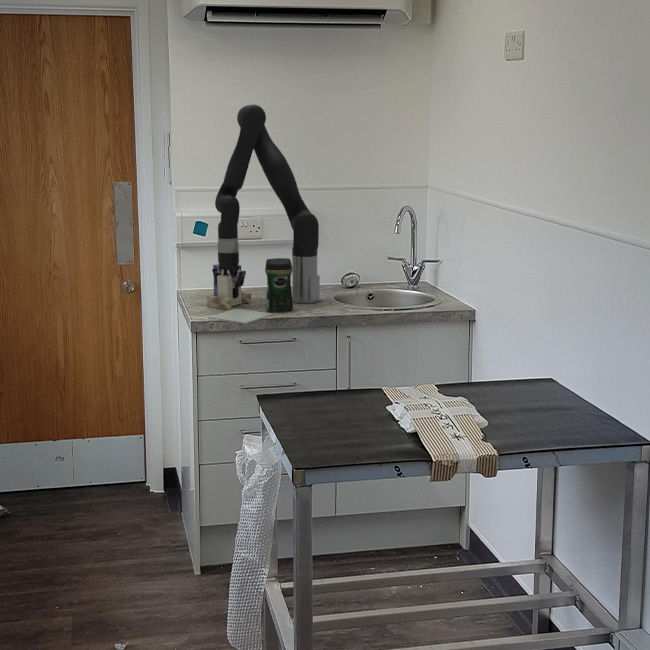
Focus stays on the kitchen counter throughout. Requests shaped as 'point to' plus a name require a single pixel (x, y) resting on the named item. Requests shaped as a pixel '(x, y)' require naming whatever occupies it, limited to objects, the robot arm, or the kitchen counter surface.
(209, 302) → the divider rack
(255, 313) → the sage mat
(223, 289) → the block
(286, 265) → the coffee jar
